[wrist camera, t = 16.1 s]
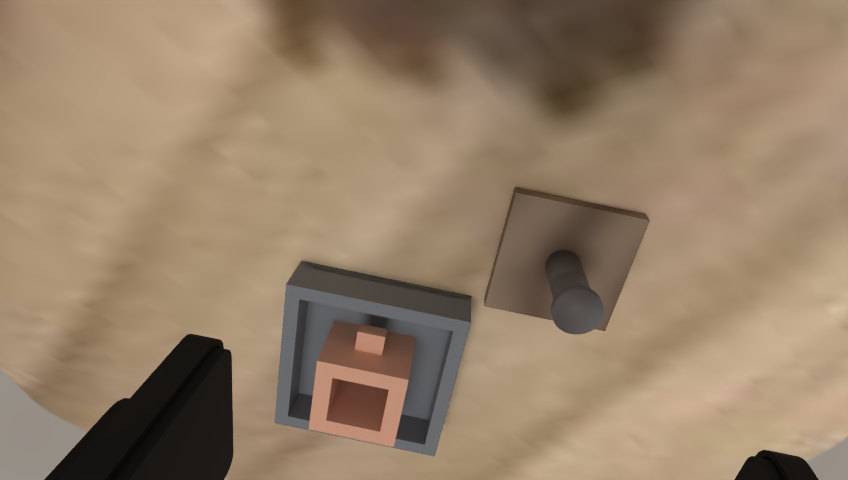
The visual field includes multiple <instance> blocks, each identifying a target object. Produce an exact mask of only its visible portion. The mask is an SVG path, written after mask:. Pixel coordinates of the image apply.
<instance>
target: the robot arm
mask: <svg viewBox="0 0 848 480" xmlns="http://www.w3.org/2000/svg"><path fill="white" fill-rule="evenodd" d="M232 458H233V411H232V357H231V352H230V350H227V349H224V347H223V343H222V341H221V340H219V339H214V338H209V337H204V336H199V335H194V334H189V335H187V336H185V337H184V338H183V339H182V340H181V341H180V343H179V344H178V345H177V346H176V347H175V348H174V349H173V350H172V352H171V353H170V354H169V355H168V356H167V357H166V358H165V360H164V361H163V362H162V363H161V364H160V365H159V366H158V367H157V369H156V370H155V371H154V372H153V373H152V374H151V375H150V376H149V378H148V379H147V380H146V381H145V382H144V383H143V384H142V385H141V387H140V388H139V389H138V390H137V391H136V392H135V393H134V394H133V396H132V397H131V398H130V399H129V398H124V399H122V400H120V401H117V402H116V403H115V404H114V405H113V406H112V407H111V408H110V409H109V410H108V411H107V412H106V413H105V414H104V415H103V416H102V417H101V418H100V419H99V421H98V422H97V423H96V424H95V425H94V426H93V427H92V428H91V429H90V430H89V431H88V433H87V434H86V435H85V436H84V437H83V438H82V439H81V440H80V441H79V443H78V444H77V445H76V446H75V447H74V448H73V449H72V450H71V451H70V452H69V453H68V454H67V456H66V457H65V458H64V459H63V460H62V461H61V462H60V463H59V464H58V465H57V466H56V468H55V469H54V470H53V471H52V472H51V473H50V474H49V475H48V476H47V477H46V479H45V480H224V478H225V477H226V475H227V473H228V471H229V468H230V465H231V462H232ZM735 480H818V478H817V477H816V475H815V474H814V472H813V471H812V469H811V468H810V466H809V465H808V463H807V462H806V461H805V460H804V459H802V458H800V457H798V456H793V455H788V454H783V453H778V452H773V451H768V450H762V451H760V452H759V453H758V454H757V455H756V456H755V457H754V456H751V457H749V458H748V459H747V460H746V461H745V463H744V465H743V466H742V468H741V470H740V471H739V473H738V475H737V476H736V478H735Z"/></svg>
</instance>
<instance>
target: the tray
mask: <svg viewBox="0 0 848 480" xmlns="http://www.w3.org/2000/svg"><path fill="white" fill-rule="evenodd" d="M335 320H336V321H341V322H346V323H351V324H356V325H360V324H365V325H369V326H374V327H379V328H384V329H387V331H389V332H394V333H398V334H403V335H408V336H413V337H416V341H415V347H414V353H413V358H412V364H411V370H410V376H409V381H408V386H407V390H406V394H405V399H404V403H403V408H402V412H401V417H400V421H399V426H398V430H397V435H396V439H395V444H394V447H392V448H397V449H402V450H407V451H411V452H416V453H421V454H426V455H431V456H435V454H436V450H437V446H438V442H439V439H440V435H441V431H442V428H443V424H444V420H445V416H446V413H447V409H448V405H449V402H450V398H451V394H452V390H453V387H454V383H455V379H456V376H457V372H458V368H459V364H460V361H461V357H462V353H463V350H464V346H465V342H466V338H467V335H468V331H469V327H470V324H471V296H467V295H462V294H458V293H453V292H448V291H443V290H438V289H433V288H429V287H424V286H419V285H414V284H409V283H404V282H400V281H395V280H390V279H385V278H380V277H376V276H371V275H366V274H361V273H356V272H351V271H347V270H342V269H337V268H332V267H327V266H323V265H318V264H313V263H308V262H303V261H301V262H300V264H299V266H298V267H297V269H296V270H295V272H294V273H293V275H292V276H291V278H290V279H289V281H288V282H287V284H286V293H285V305H284V317H283V329H282V341H281V353H280V365H279V377H278V389H277V401H276V413H275V423H277V424H282V425H286V426H291V427H296V428H301V429H306V430H310V429H309V422H310V414H311V406H312V398H313V390H314V382H315V374H316V366H317V360H318V358H319V355H320V353H321V351H322V348H323V346H324V344H325V341H326V339H327V337H328V334H329V332H330V330H331V328H332V325H333V323H334V321H335ZM310 431H314V430H310ZM315 432H319V431H315ZM320 433H324V432H320ZM325 434H329V433H325ZM330 435H333V434H330ZM334 436H338V435H334ZM339 437H343V436H339ZM344 438H348V437H344ZM349 439H352V438H349ZM354 440H357V439H354ZM358 441H362V440H358ZM363 442H367V441H363ZM368 443H372V442H368ZM373 444H376V443H373ZM378 445H381V444H378ZM382 446H386V445H382ZM387 447H391V446H387Z"/></svg>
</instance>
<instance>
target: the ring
mask: <svg viewBox="0 0 848 480" xmlns="http://www.w3.org/2000/svg"><path fill="white" fill-rule="evenodd" d="M415 341H416V337H413V336H408V335H403V334H398V333H394V332H389V331H387V329H384V328H379V327H374V326H369V325H365V324H360V325H356V324H351V323H346V322H341V321H336V320H335V321H334V323H333V325H332V328H331V330H330V332H329V334H328V337H327V339H326V341H325V344H324V346H323V348H322V351H321V353H320V355H319V358H318V360H317V366H316V374H315V382H314V390H313V398H312V406H311V414H310V422H309V429H310V430H314V431H319V432H324V433H329V434H333V435H338V436H343V437H348V438H352V439H357V440H362V441H367V442H372V443H376V444H381V445H386V446H391V447H394V444H395V439H396V435H397V430H398V426H399V421H400V417H401V412H402V408H403V403H404V399H405V394H406V390H407V386H408V381H409V376H410V370H411V364H412V358H413V353H414V347H415Z"/></svg>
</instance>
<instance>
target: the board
mask: <svg viewBox="0 0 848 480" xmlns="http://www.w3.org/2000/svg"><path fill="white" fill-rule="evenodd" d="M649 221H650V220H649V219H648V217H647V216H646V215H645V214H640V213H635V212H630V211H625V210H621V209H616V208H611V207H606V206H601V205H596V204H592V203H587V202H582V201H577V200H572V199H567V198H563V197H558V196H553V195H548V194H543V193H538V192H534V191H529V190H524V189H519V188H515V190H514V193H513V197H512V200H511V204H510V208H509V211H508V215H507V219H506V222H505V226H504V229H503V233H502V237H501V240H500V244H499V248H498V251H497V255H496V258H495V262H494V266H493V269H492V273H491V277H490V280H489V284H488V287H487V291H486V295H485V298H484V306H486V307H491V308H496V309H501V310H505V311H510V312H515V313H520V314H525V315H530V316H534V317H539V318H544V319H549V320H553V321H554V323H555V324H556V326H557V327H558V328H559V329H561V330H562V331H564V332H566V333H570V334H584V333H587V332H590V331H592V330H593V329H597V330H602V331H605V330H606V327H607V325H608V322H609V320H610V317H611V315H612V312H613V310H614V308H615V305H616V303H617V300H618V298H619V295H620V293H621V290H622V288H623V285H624V283H625V280H626V278H627V275H628V273H629V270H630V268H631V266H632V263H633V261H634V258H635V256H636V253H637V251H638V248H639V246H640V243H641V241H642V238H643V236H644V233H645V231H646V229H647V226H648V224H649Z"/></svg>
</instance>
